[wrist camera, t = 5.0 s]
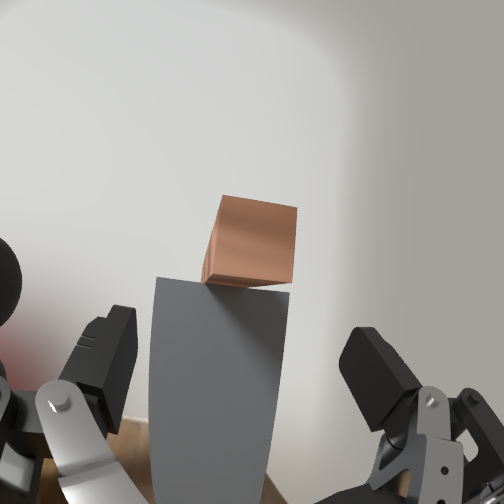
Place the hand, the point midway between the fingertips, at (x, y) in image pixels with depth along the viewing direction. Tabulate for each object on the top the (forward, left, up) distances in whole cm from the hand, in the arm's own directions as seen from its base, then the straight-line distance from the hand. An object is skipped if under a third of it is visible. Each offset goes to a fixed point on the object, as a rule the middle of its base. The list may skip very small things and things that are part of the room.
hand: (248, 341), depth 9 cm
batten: (+10, +9, +2) cm, 14 cm away
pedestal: (+10, +10, -30) cm, 33 cm away
